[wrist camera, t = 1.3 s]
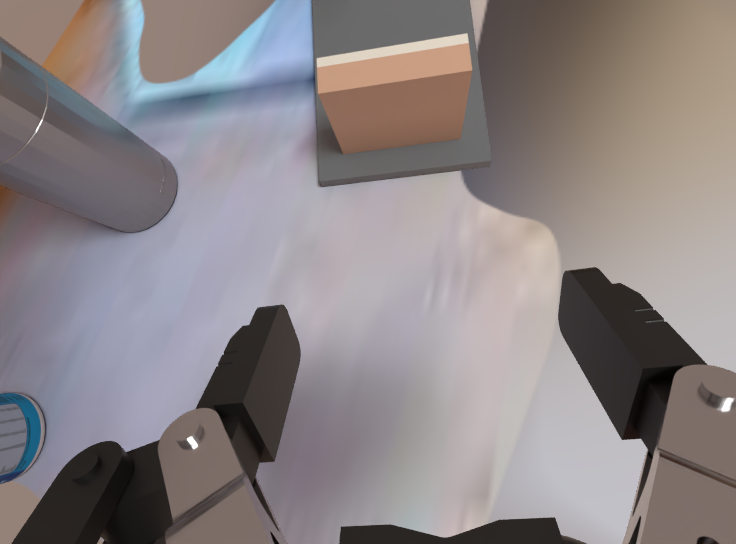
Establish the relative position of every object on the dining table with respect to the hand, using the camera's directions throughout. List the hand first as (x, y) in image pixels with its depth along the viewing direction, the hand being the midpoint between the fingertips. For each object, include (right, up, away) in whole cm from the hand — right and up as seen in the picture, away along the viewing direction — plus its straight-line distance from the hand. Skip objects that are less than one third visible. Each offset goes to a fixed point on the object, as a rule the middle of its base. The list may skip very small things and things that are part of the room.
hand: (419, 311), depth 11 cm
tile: (+1, +14, +25) cm, 29 cm away
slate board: (+1, +21, +28) cm, 35 cm away
